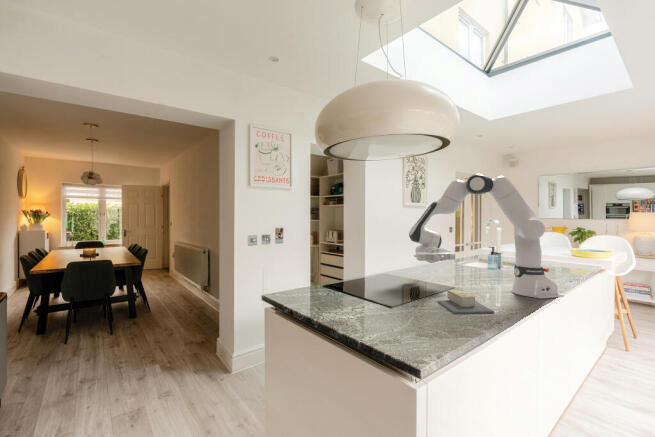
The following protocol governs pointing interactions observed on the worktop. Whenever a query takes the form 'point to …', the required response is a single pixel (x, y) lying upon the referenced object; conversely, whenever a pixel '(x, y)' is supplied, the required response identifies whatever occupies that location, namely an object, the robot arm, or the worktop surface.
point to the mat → (464, 308)
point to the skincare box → (461, 298)
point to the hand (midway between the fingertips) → (441, 258)
